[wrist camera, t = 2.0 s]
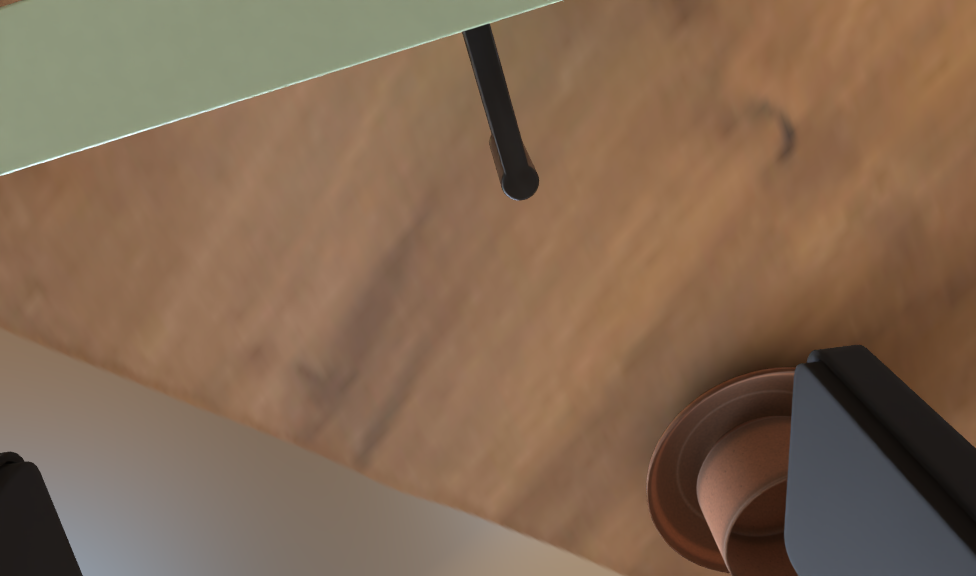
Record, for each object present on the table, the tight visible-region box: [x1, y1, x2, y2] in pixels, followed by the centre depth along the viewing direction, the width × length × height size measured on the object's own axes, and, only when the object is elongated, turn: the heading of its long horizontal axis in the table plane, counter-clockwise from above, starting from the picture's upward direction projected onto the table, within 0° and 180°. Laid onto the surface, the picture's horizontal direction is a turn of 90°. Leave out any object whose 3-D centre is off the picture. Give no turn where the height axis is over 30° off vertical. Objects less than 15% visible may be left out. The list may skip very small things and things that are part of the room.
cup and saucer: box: [647, 367, 798, 576], centre depth 37 cm, size 12×12×6 cm
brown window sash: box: [462, 23, 539, 200], centre depth 26 cm, size 9×7×8 cm
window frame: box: [0, 0, 562, 176], centre depth 24 cm, size 20×4×12 cm, turn 106°
